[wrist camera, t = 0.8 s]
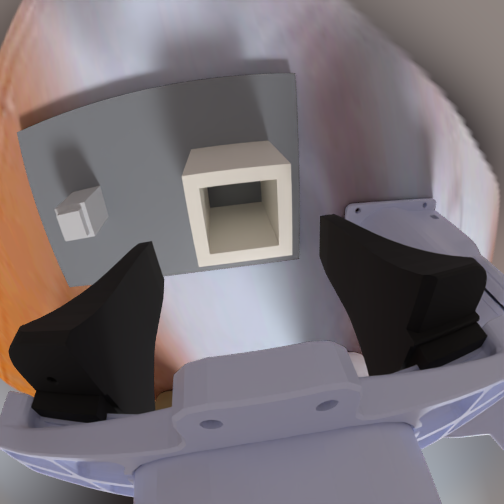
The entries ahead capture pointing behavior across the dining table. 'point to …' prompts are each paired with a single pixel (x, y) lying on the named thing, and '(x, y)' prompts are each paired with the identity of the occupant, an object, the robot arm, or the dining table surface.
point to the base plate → (151, 168)
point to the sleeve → (242, 215)
